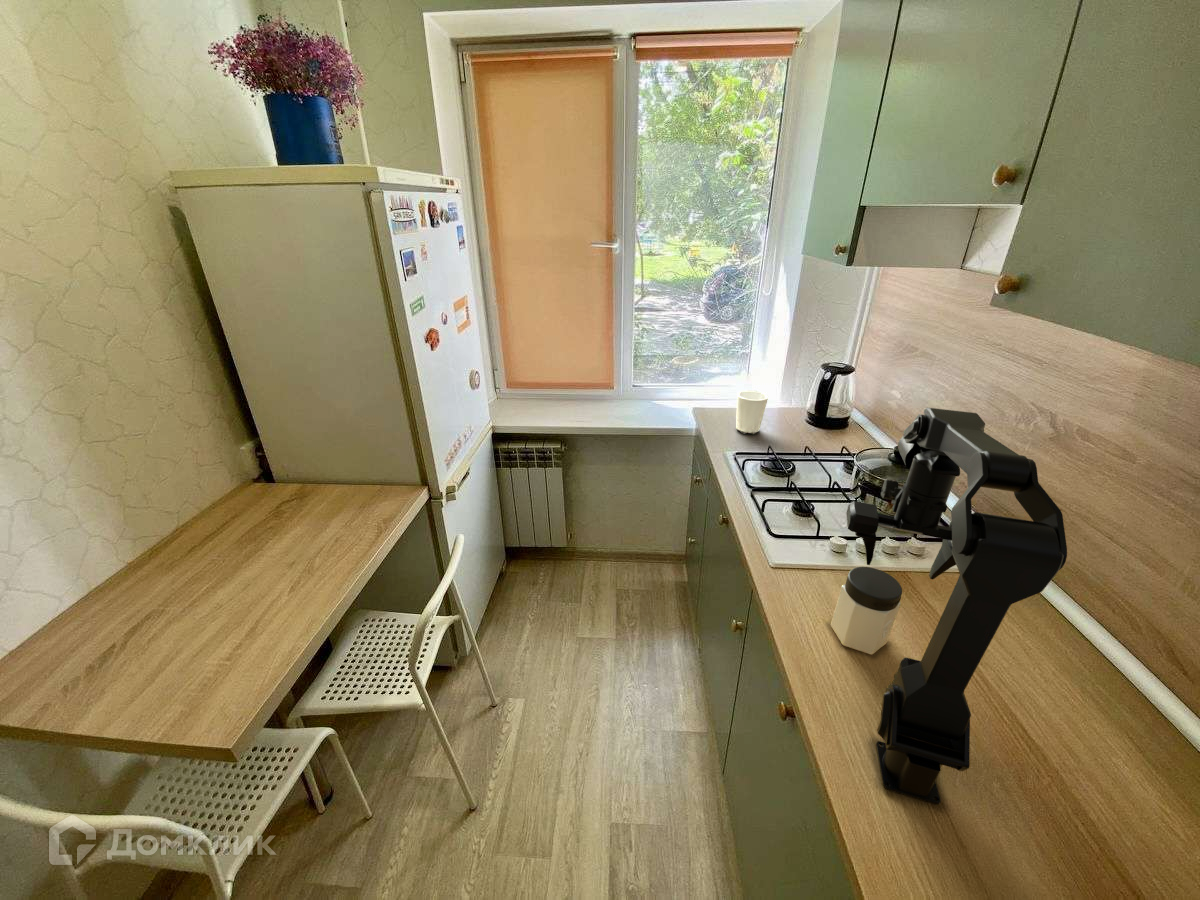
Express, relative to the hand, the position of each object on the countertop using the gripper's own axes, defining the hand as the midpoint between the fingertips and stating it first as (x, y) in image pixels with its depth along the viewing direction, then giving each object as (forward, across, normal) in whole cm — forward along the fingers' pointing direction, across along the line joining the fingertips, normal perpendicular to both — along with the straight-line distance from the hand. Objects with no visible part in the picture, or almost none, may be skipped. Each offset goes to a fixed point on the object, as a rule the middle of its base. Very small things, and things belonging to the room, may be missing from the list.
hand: (898, 570), depth 81 cm
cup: (+13, +32, -83) cm, 90 cm away
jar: (+14, +3, +2) cm, 15 cm away
